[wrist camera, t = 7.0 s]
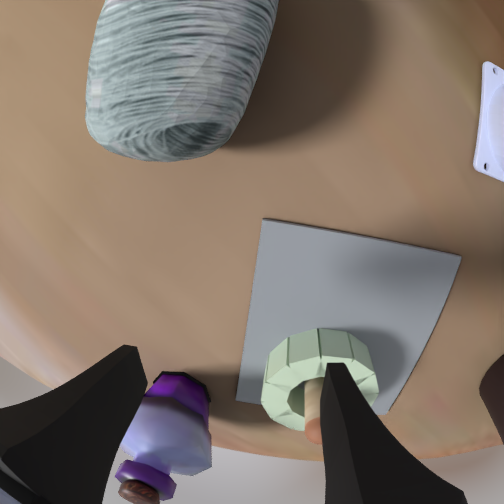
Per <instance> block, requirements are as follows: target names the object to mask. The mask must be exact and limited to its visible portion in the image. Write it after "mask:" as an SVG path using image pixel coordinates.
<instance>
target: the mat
mask: <svg viewBox="0 0 504 504" xmlns="http://www.w3.org/2000/svg"><path fill="white" fill-rule="evenodd" d="M461 258H462V257H461V256H459V255H456V254H451V253H446V252H442V251H437V250H432V249H428V248H423V247H418V246H413V245H408V244H403V243H398V242H393V241H388V240H383V239H378V238H373V237H368V236H362V235H357V234H352V233H346V232H341V231H335V230H330V229H324V228H318V227H313V226H307V225H301V224H295V223H289V222H283V221H277V220H271V219H264V218H263V220H262V227H261V234H260V241H259V248H258V254H257V261H256V268H255V275H254V282H253V288H252V295H251V302H250V309H249V315H248V322H247V329H246V335H245V342H244V349H243V355H242V362H241V368H240V375H239V382H238V388H237V395H236V401H241V402H247V403H253V404H259V405H262V404H261V395H262V388H263V380H264V373H265V368H266V364H267V359H268V355H269V354H270V352H271V351H273V350H274V349H275V348H276V347H277V346H278V345H279V344H280V343H282V342H283V341H284V340H285V339H286V338H287V337H288V338H289V339H290V336H291V335H295V334H299V333H302V332H305V331H309V330H312V329H316V328H317V330H318V331H319V328H323V329H331V330H339V331H347V333H350V334H352V335H353V336H354V337H356V338H357V339H358V340H360V341H361V342H362V343H364V344H365V345H366V346H367V347H368V350H369V354H370V357H371V361H372V364H373V368H374V371H375V375H376V380H377V384H378V389H379V392H378V393H379V394H378V396H377V398H376V400H375V401H374V403H373V405H372V406H371V408H372V409H373V411H374V412H375V414H376V415H386V413H387V412H388V410H389V409H390V407H391V405H392V404H393V402H394V401H395V399H396V397H397V396H398V394H399V392H400V391H401V389H402V387H403V386H404V384H405V382H406V381H407V379H408V377H409V375H410V373H411V372H412V370H413V368H414V366H415V364H416V362H417V361H418V359H419V357H420V355H421V353H422V351H423V349H424V347H425V345H426V343H427V341H428V339H429V337H430V335H431V333H432V331H433V328H434V326H435V324H436V322H437V320H438V317H439V315H440V313H441V311H442V308H443V306H444V304H445V301H446V299H447V296H448V294H449V291H450V289H451V286H452V283H453V281H454V278H455V275H456V273H457V270H458V267H459V264H460V261H461ZM297 386H298V387H300V388H302V389H303V390H305V388H304V381H302V382H301V383H300V384H298V385H297Z"/></svg>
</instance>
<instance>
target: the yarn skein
mask: <svg viewBox="0 0 504 504" xmlns="http://www.w3.org/2000/svg"><path fill="white" fill-rule="evenodd" d="M278 2H279V0H106V1H105V3H104V6H103V8H102V11H101V14H100V16H99V19H98V22H97V26H96V31H95V36H94V41H93V45H92V49H91V54H90V59H89V68H88V77H87V88H86V115H85V119H86V124H87V128H88V131H89V133H90V135H91V136H92V137H93V138H94V139H95V140H96V141H97V142H98V143H99V144H100V145H102V146H103V147H104V148H105V149H107V150H108V151H111V152H113V153H116V154H119V155H122V156H125V157H129V158H133V159H138V160H144V161H160V162H173V161H180V160H189V159H194V158H198V157H202V156H205V155H207V154H210V153H212V152H213V151H215V150H217V149H218V148H220V147H221V146H223V145H224V144H225V143H226V142H227V141H228V140H229V139H230V137H231V135H232V134H233V132H234V130H235V128H236V127H237V125H238V123H239V121H240V120H241V118H242V116H243V114H244V112H245V110H246V107H247V104H248V101H249V98H250V95H251V93H252V90H253V88H254V85H255V82H256V80H257V77H258V74H259V71H260V68H261V65H262V62H263V60H264V57H265V54H266V50H267V47H268V43H269V40H270V36H271V33H272V30H273V26H274V23H275V19H276V14H277V8H278Z"/></svg>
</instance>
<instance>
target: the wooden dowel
mask: <svg viewBox="0 0 504 504" xmlns="http://www.w3.org/2000/svg"><path fill="white" fill-rule="evenodd" d="M323 382H324V377H317V378H313V379H309V380H305V381H304V388H305V435H306V437H307V438H308V439H309V440H310V441H311V442H312V443H315V444H320V445H322V436H321V428H320V397H321V392H322V387H323Z"/></svg>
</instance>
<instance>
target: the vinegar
mask: <svg viewBox="0 0 504 504" xmlns="http://www.w3.org/2000/svg"><path fill="white" fill-rule="evenodd" d="M479 390H480V396H481V398H482V400H483V402H484V404H485V406H486V408H487V410H488V412H489V414H490V416H491V418H492V420H493V422H494V424H495V426H496V428H497V430H498V433H499V435H500V437H501V439H502V441H503V444H504V355H503V356H502V357H501V358H499V359H498V360H497V361H496V362H495V363H494V364H493V365H492V366H491V367H490V369H489V370H488V371H487V372H486V374H485V376H484V377H483V379H482V381H481V384H480V387H479Z"/></svg>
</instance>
